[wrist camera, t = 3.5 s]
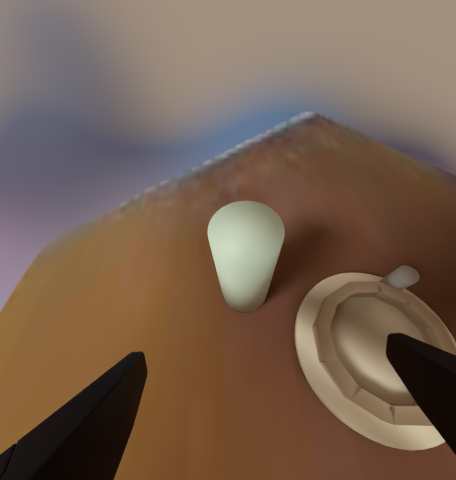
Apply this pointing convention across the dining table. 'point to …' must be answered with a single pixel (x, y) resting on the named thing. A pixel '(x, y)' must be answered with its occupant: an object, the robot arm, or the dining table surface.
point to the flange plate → (367, 353)
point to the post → (245, 251)
